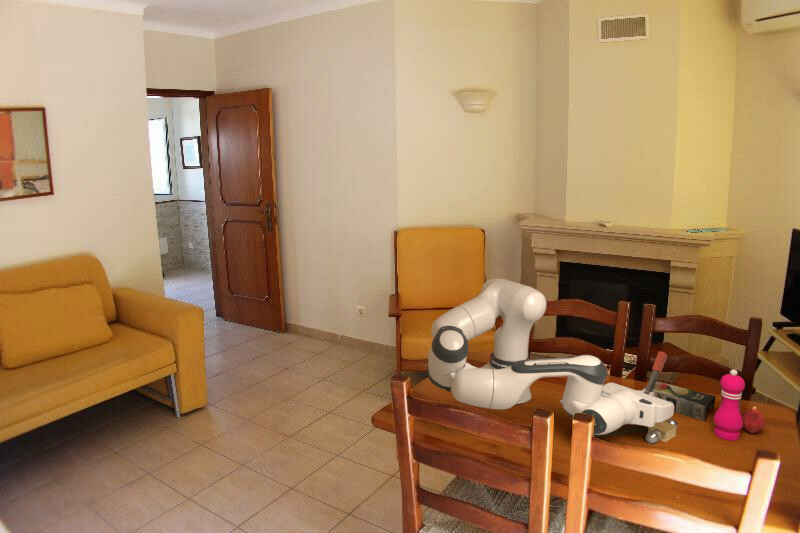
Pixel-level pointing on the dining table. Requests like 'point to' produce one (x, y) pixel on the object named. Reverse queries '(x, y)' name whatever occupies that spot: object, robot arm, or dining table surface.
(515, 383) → the robot arm
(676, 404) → the juice carton
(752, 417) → the onion
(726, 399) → the pepper mill
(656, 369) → the valve lever
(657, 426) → the valve body
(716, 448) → the dining table surface
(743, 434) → the dining table surface
